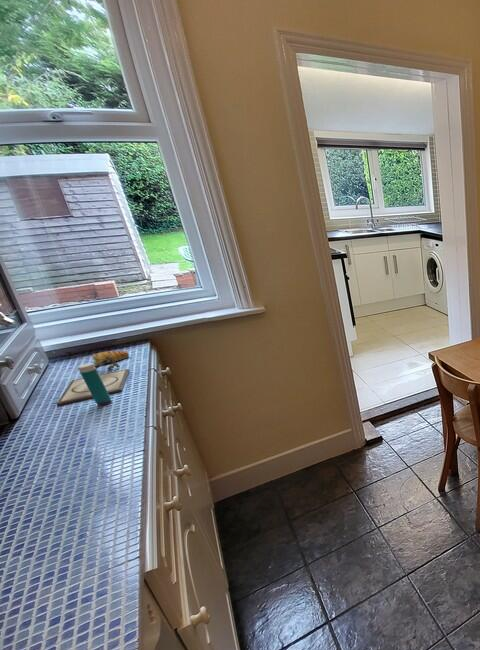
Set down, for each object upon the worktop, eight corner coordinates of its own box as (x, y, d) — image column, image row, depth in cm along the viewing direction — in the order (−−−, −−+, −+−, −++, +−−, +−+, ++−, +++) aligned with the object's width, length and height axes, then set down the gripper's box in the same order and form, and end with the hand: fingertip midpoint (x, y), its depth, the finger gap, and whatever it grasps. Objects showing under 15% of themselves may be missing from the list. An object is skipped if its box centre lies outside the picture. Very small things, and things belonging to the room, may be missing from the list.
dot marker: (94, 406, 116) (74, 367, 111) (106, 400, 119) (87, 362, 114) (103, 406, 115) (83, 367, 110) (115, 401, 118) (96, 363, 113)
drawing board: (57, 406, 117) (56, 403, 116) (73, 382, 132) (71, 379, 131) (121, 391, 124) (120, 388, 123) (129, 370, 139) (128, 368, 138)
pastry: (128, 354, 153) (123, 345, 152) (131, 359, 149) (126, 349, 148) (94, 362, 147) (89, 352, 146) (96, 367, 143) (91, 357, 141)
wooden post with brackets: (120, 366, 140) (108, 355, 138) (98, 378, 140) (86, 368, 138) (123, 364, 142) (111, 354, 140) (102, 376, 141) (90, 365, 139)
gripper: (-111, 295, 86) (-21, 331, 94) (-41, 278, 104) (31, 310, 111) (-128, 318, 87) (-36, 353, 94) (-55, 298, 104) (17, 328, 111)
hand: (0, 329), depth 103 cm, fingers open, 8 cm apart
